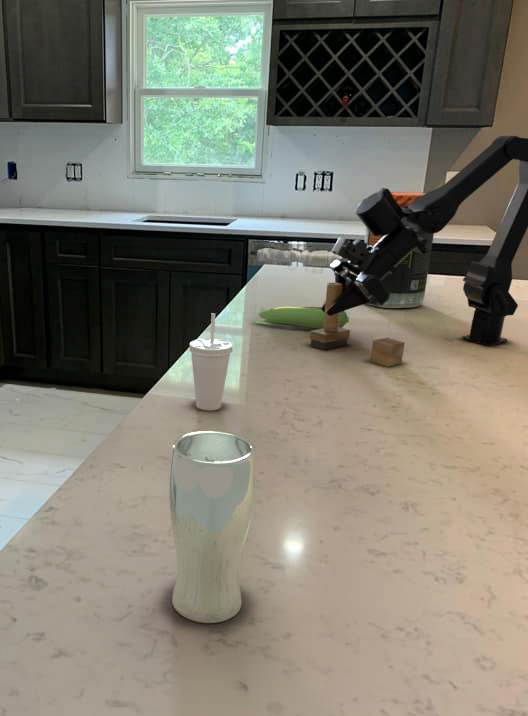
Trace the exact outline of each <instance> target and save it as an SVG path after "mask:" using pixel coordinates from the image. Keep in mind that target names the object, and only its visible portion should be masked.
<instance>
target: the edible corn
mask: <svg viewBox="0 0 528 716" xmlns="http://www.w3.org/2000/svg"><path fill="white" fill-rule="evenodd" d="M321 307H322V306H278V307H274V308H271V309H269V310H264V311H261V312H260V313H258V316H259V317H260V318H261V319H262V320H255V321H253V322H254V323H257V324H262V325H263V324H264V325H273V326H287V327H294V328H295V327H296V328H304V329H310V330H317V329H323V325H324V314H325V312H323V311H322V309H321ZM349 320H350V316H348V315H347V312H346V310H345V311H342V312H339V322H338V327H340V328H344V327H345V325H346V324H348V323H349V322H350V321H349Z"/></svg>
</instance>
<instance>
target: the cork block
mask: <svg viewBox="0 0 528 716" xmlns="http://www.w3.org/2000/svg"><path fill="white" fill-rule="evenodd" d="M405 344H406V342H405V341H401V340H398V339H394V338H390V337H383V338H378V339H374V340H372V346H371V351H370V360H369V362H371V363H374V364H377V365H380V366H383V367H387V368H388V367H393V366H397V365H401V364H402V363H403V357H404V351H405V350H404V349H405Z"/></svg>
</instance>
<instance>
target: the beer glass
mask: <svg viewBox="0 0 528 716" xmlns="http://www.w3.org/2000/svg"><path fill="white" fill-rule="evenodd" d="M255 452H256V447H255V445H254V443H252V441H250V440H249V439H247V438H246V437H244V436H241V435H239V434H235V433H231V432H225V431H217V430H216V431H215V430H206V431H203V430H202V431H195V432H190V433H186V434H184V435H181V436H180V437H178V438H177V439H175V441H174V442H173V444H172V457H171V463H170V464H171V465H170V473H169V474H170V475H169V491H168V492H169V493H168V494H169V495H168V496H169V498H168V499H169V514H170V521H171V522H170V523H171V529H172V535H173V540H174V546H175V552H176V558H177V573H176V579H175V584H174V587H173V591H172V597H171V602H172V606H173V609H174V610H175V611H176V612H177V613H178V614H179V615H180V616H182V617H183V618H185V619H187V620H189V621H192V622H196V623H201V624H218V623H222V622H226V621H229V620H230V619H232V618H233V617H235V616H236V615H238V613H239V612H240V610H241V608H242V593H241V585H240V565H241V561H242V560H241V559H242V555H243V552H244V548H245V544H246V541H247V537H248V534H249V530H250V527H251V521H252V518H253V517H252V516H253V512H254V505H255V504H254V502H255V489H256V488H255V487H256V467H255V466H256V465H255V463H256V462H255Z"/></svg>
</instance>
